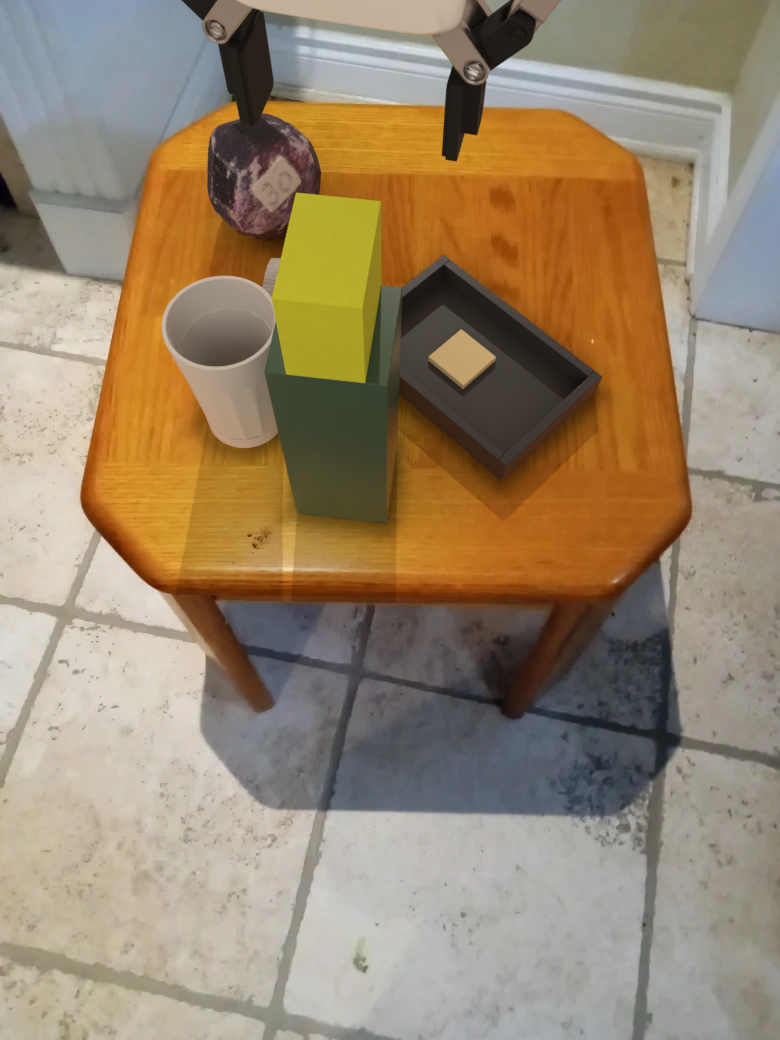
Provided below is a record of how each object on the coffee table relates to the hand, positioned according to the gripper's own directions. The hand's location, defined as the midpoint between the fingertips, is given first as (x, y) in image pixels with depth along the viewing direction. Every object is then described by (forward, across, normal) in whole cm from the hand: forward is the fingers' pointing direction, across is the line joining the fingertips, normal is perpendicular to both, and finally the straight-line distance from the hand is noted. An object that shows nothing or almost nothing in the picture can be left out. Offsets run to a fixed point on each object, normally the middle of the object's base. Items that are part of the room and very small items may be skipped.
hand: (355, 122), depth 39 cm
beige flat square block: (+29, -6, -9) cm, 31 cm away
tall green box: (+30, +1, +4) cm, 30 cm away
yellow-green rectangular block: (+11, +1, +4) cm, 12 cm away
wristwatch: (+30, +11, -11) cm, 34 cm away
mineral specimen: (+30, +15, -21) cm, 39 cm away
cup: (+30, +10, 0) cm, 32 cm away
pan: (+30, -6, -8) cm, 32 cm away
